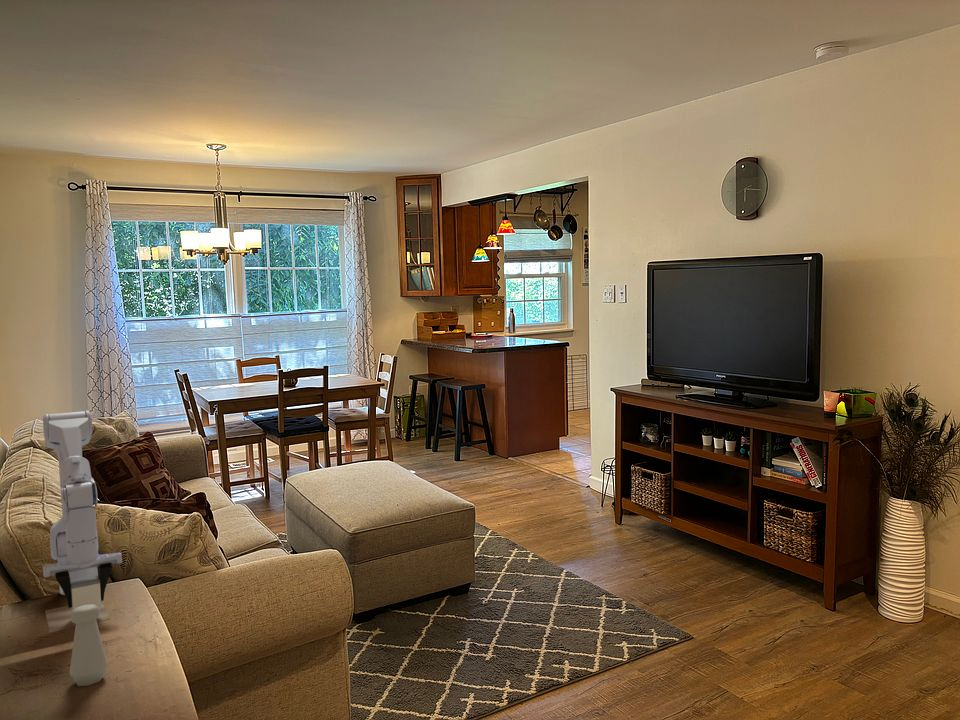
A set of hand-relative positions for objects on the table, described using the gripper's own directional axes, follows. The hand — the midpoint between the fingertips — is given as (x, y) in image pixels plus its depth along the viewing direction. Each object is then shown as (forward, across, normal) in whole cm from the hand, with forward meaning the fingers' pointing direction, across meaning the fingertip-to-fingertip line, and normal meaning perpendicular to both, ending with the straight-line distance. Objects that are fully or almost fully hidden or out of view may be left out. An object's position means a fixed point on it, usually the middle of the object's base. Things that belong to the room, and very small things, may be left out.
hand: (85, 603), depth 153 cm
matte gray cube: (+1, 0, 0) cm, 1 cm away
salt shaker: (+5, -3, -31) cm, 32 cm away
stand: (+4, -2, +4) cm, 6 cm away
